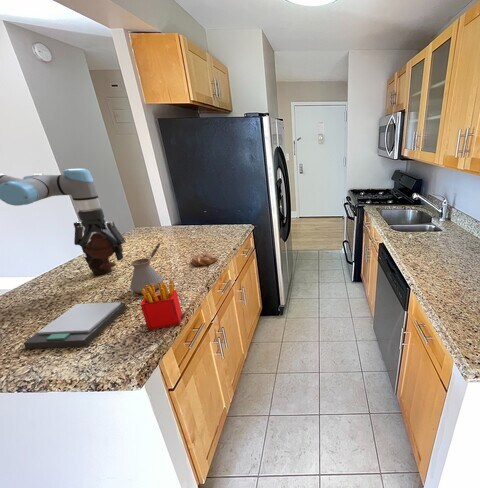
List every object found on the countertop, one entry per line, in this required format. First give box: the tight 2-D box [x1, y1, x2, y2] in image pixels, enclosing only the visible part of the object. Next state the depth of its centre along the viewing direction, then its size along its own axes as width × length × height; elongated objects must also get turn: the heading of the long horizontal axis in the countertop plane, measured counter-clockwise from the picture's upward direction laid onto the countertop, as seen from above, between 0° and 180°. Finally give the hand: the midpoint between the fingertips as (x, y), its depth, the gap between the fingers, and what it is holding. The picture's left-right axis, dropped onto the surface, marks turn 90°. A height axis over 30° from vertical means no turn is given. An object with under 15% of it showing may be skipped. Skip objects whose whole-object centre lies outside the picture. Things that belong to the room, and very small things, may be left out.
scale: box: [22, 301, 127, 350], centre depth 86 cm, size 17×19×3 cm
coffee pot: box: [129, 242, 164, 295], centre depth 110 cm, size 21×12×15 cm, turn 3°
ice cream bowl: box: [84, 232, 117, 269], centre depth 109 cm, size 11×11×15 cm
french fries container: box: [140, 280, 183, 331], centre depth 86 cm, size 7×9×14 cm
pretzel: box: [191, 253, 218, 267], centre depth 132 cm, size 12×11×4 cm
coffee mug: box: [83, 253, 112, 277], centre depth 118 cm, size 12×9×10 cm
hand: (106, 259), depth 111 cm, fingers closed on ice cream bowl, 11 cm apart
